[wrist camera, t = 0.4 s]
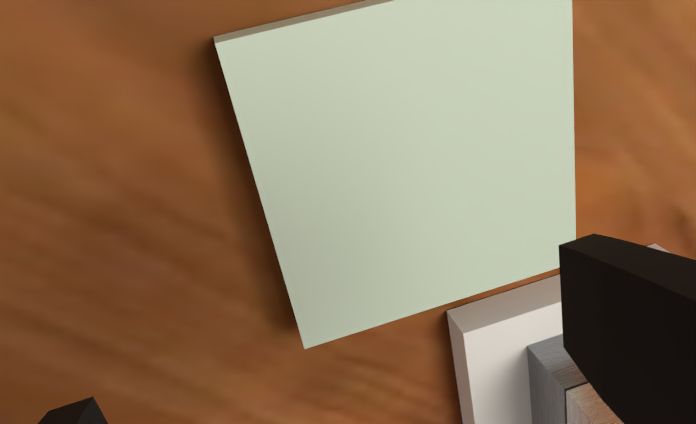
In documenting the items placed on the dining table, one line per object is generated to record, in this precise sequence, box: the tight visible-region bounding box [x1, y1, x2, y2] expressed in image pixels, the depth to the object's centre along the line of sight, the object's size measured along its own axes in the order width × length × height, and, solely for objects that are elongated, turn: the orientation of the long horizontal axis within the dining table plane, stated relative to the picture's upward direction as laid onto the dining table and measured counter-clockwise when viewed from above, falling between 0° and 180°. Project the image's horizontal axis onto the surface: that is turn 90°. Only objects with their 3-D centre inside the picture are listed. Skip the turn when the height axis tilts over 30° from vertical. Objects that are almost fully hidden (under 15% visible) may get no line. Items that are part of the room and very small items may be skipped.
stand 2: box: [447, 244, 670, 424], centre depth 23 cm, size 9×9×2 cm
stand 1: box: [213, 0, 576, 349], centre depth 18 cm, size 10×10×2 cm
